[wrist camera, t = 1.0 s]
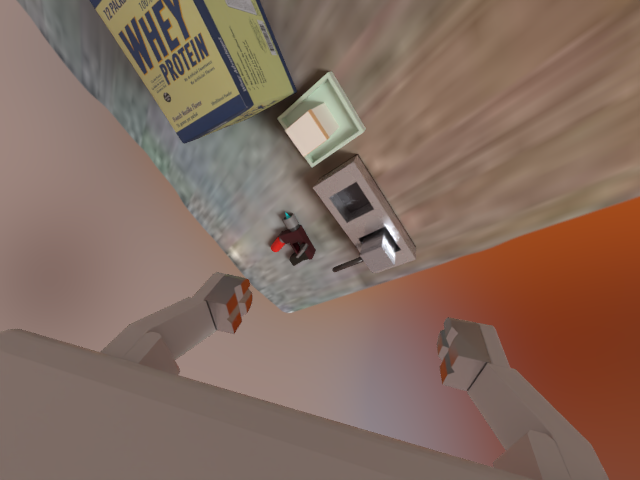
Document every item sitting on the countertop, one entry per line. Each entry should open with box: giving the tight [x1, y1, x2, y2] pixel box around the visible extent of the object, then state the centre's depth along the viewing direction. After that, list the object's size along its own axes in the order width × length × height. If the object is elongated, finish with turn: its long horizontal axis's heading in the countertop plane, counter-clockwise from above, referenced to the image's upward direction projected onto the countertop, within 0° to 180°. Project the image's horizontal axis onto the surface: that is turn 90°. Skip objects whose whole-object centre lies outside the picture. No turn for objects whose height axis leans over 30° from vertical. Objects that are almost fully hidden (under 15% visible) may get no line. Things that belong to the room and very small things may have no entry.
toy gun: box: [271, 212, 316, 266], centre depth 53 cm, size 10×12×5 cm
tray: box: [277, 71, 366, 167], centre depth 39 cm, size 10×9×2 cm
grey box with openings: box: [313, 154, 416, 273], centre depth 44 cm, size 14×20×8 cm
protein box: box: [90, 0, 297, 143], centre depth 31 cm, size 10×16×16 cm
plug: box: [285, 103, 340, 157], centre depth 36 cm, size 4×4×8 cm
